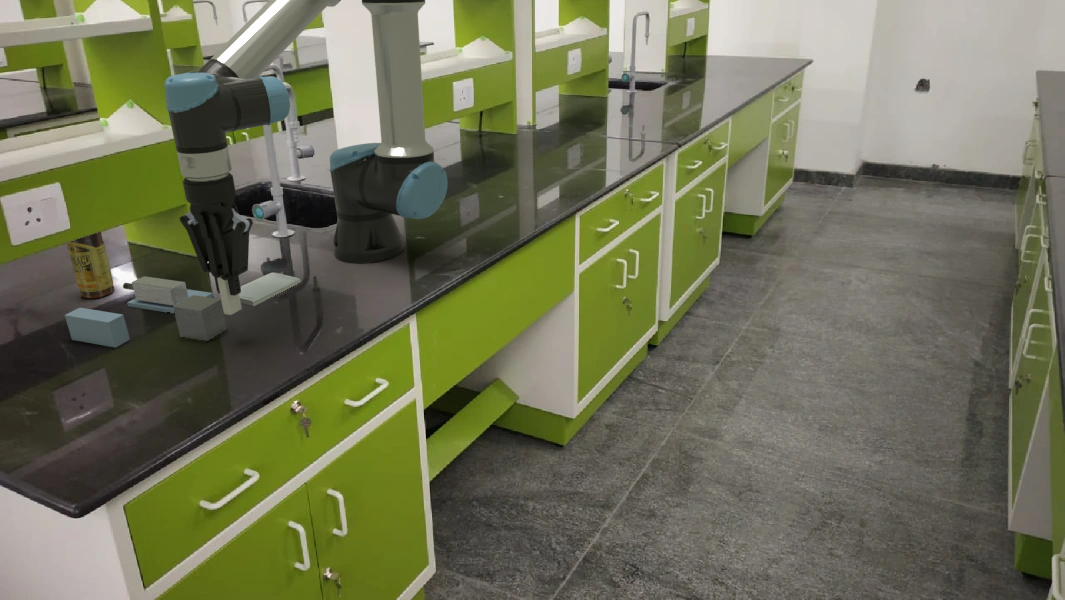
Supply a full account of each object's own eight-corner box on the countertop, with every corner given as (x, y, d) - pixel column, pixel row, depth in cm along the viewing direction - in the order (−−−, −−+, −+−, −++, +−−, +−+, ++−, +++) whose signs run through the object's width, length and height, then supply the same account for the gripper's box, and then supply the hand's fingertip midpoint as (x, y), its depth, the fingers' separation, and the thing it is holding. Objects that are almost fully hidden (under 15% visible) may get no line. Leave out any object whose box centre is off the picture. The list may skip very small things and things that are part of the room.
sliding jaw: (189, 299, 153) (185, 282, 152) (176, 306, 150) (171, 289, 149) (133, 291, 158) (129, 274, 156) (120, 298, 155) (115, 280, 153)
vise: (213, 296, 157) (208, 273, 155) (122, 348, 138) (115, 323, 136) (161, 289, 161) (155, 266, 160) (65, 338, 142) (58, 314, 140)
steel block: (227, 329, 144) (220, 299, 141) (207, 342, 139) (200, 310, 137) (200, 325, 146) (193, 295, 143) (180, 337, 141) (173, 306, 139)
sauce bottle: (73, 297, 159) (45, 200, 151) (100, 285, 164) (74, 191, 156) (97, 302, 157) (69, 203, 148) (123, 290, 162) (98, 194, 153)
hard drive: (252, 301, 152) (300, 277, 162) (222, 293, 156) (270, 270, 166) (254, 309, 153) (301, 285, 162) (224, 301, 157) (272, 278, 166)
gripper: (157, 178, 127) (186, 315, 136) (224, 184, 122) (249, 325, 132) (191, 166, 133) (217, 298, 143) (256, 172, 129) (278, 307, 138)
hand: (232, 311), depth 137 cm, fingers closed
